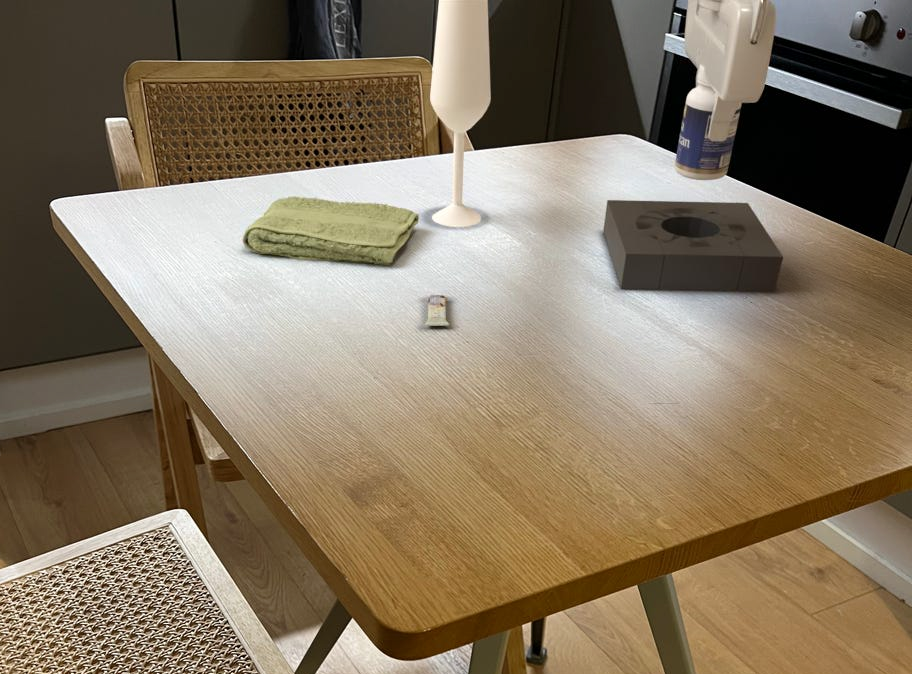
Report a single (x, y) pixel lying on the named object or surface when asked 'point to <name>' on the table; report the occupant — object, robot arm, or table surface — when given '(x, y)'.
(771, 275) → the block
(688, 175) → the pill bottle
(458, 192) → the champagne flute
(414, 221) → the washcloth
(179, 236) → the table surface
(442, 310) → the granola bar
